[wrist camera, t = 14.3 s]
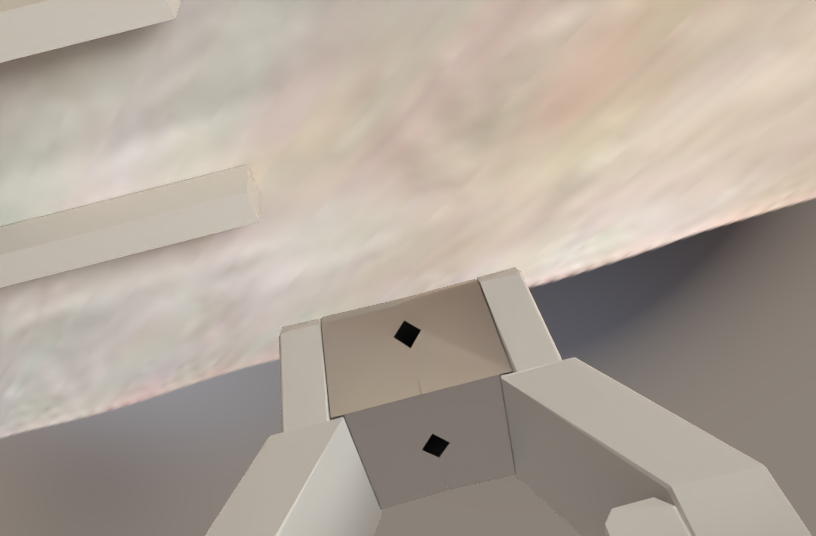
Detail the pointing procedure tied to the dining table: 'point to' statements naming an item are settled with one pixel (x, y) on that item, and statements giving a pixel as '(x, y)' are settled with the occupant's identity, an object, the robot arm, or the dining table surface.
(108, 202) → the shallow open rectangular tray
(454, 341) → the robot arm
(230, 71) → the dining table surface
